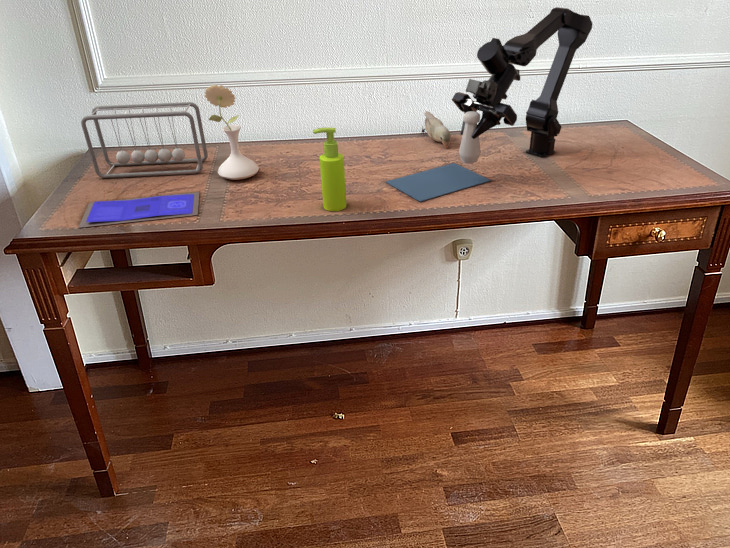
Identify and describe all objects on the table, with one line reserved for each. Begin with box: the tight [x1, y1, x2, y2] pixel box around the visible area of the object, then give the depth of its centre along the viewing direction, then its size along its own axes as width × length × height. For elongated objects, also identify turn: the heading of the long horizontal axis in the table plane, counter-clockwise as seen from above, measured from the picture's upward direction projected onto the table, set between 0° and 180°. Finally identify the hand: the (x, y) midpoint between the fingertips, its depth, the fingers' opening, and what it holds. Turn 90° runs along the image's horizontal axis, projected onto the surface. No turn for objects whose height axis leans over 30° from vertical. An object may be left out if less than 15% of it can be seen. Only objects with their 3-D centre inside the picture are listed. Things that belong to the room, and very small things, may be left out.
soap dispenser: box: [312, 126, 347, 212], centre depth 148 cm, size 6×7×20 cm
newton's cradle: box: [80, 101, 208, 179], centre depth 172 cm, size 30×10×18 cm, turn 95°
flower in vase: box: [203, 84, 260, 181], centre depth 165 cm, size 13×11×25 cm
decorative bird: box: [420, 110, 451, 149], centre depth 191 cm, size 5×16×8 cm, turn 21°
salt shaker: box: [458, 111, 482, 164], centre depth 159 cm, size 6×6×13 cm
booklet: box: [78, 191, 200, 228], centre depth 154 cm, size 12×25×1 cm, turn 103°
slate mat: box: [385, 162, 492, 203], centre depth 165 cm, size 24×16×1 cm, turn 123°
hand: (467, 136), depth 158 cm, fingers closed on salt shaker, 3 cm apart
